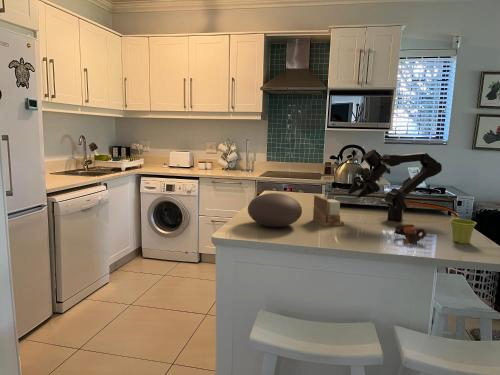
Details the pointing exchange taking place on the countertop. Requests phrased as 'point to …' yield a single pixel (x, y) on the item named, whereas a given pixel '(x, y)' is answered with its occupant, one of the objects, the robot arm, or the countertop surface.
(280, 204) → the flattened ellipsoid
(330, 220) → the walnut key housing
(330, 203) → the cream upright block
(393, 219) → the robot arm
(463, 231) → the plant pot
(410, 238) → the pottery mug
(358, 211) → the countertop surface
